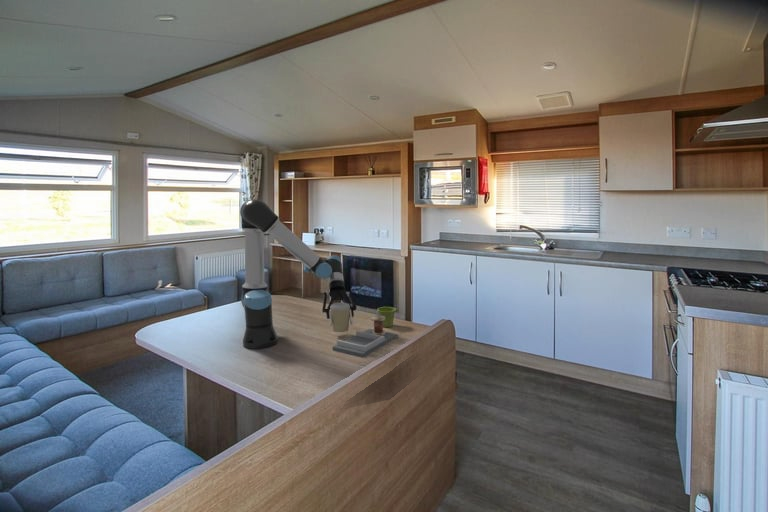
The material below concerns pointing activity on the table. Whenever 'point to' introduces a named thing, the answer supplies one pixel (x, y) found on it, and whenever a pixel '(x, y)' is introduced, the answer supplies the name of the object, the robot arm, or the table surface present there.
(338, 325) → the coffee cup
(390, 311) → the plant pot
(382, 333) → the wooden bobbin
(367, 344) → the gray board
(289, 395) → the table surface
